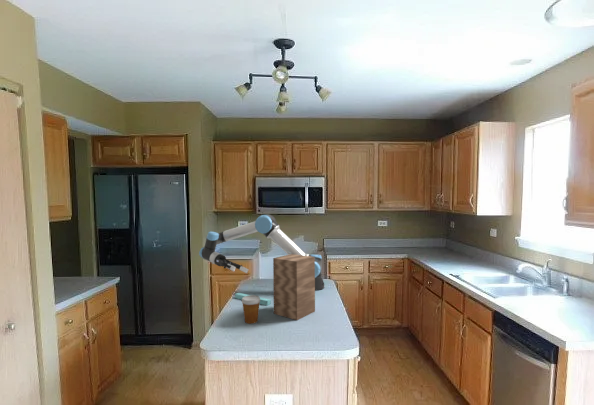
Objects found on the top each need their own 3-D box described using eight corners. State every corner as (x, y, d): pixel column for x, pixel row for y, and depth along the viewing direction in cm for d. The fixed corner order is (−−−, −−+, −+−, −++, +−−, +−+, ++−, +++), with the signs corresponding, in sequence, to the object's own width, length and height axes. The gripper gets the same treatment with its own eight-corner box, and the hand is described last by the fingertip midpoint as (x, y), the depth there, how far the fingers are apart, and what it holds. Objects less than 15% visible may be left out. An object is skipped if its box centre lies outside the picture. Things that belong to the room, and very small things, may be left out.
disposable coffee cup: (245, 326, 156) (245, 301, 156) (239, 320, 165) (239, 296, 165) (263, 322, 161) (263, 298, 161) (256, 316, 169) (256, 294, 169)
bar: (235, 298, 202) (235, 293, 202) (238, 297, 204) (238, 292, 204) (267, 306, 187) (267, 300, 187) (270, 304, 190) (270, 299, 190)
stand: (273, 313, 174) (273, 258, 173) (292, 305, 186) (291, 254, 186) (297, 320, 164) (296, 261, 164) (315, 311, 177) (314, 256, 176)
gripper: (227, 266, 226) (250, 277, 215) (202, 262, 205) (226, 274, 194) (231, 256, 227) (254, 266, 216) (207, 251, 205) (231, 262, 195)
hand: (241, 270), depth 205 cm, fingers open, 13 cm apart
